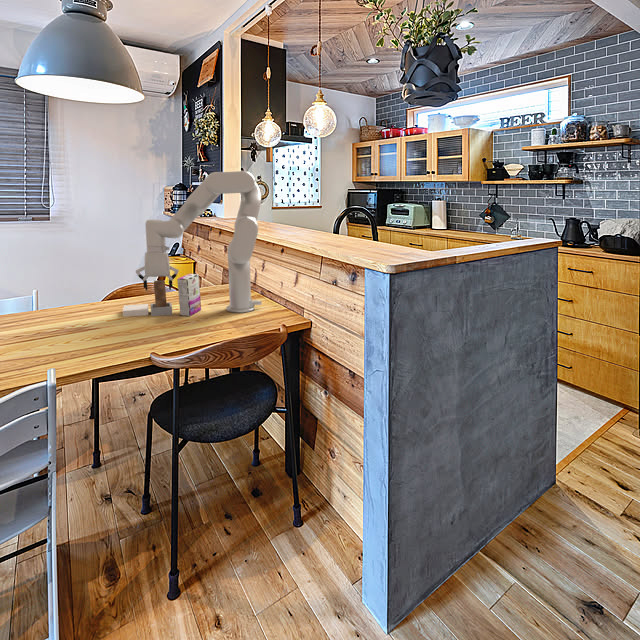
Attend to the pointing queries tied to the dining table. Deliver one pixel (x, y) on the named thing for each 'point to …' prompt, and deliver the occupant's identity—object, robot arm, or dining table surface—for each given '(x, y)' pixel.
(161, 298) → the walnut block
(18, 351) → the dining table surface
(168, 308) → the pocket
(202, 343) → the dining table surface
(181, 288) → the candy bar box
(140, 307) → the thin white tile
